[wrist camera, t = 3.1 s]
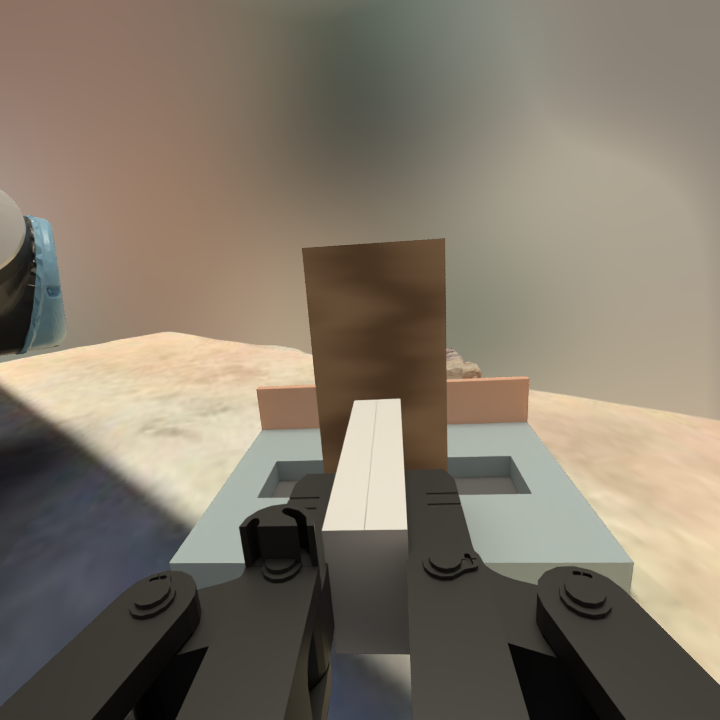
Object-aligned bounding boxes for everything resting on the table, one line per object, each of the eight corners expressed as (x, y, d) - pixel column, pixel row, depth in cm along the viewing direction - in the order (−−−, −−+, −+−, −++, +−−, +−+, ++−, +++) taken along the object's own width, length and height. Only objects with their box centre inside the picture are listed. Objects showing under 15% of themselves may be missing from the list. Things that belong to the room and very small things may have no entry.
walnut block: (332, 562, 22) (301, 248, 18) (345, 496, 28) (323, 246, 24) (449, 562, 22) (444, 238, 17) (436, 495, 27) (431, 239, 23)
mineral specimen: (515, 416, 44) (517, 358, 42) (461, 433, 41) (461, 371, 39) (438, 385, 55) (438, 338, 53) (392, 396, 52) (389, 347, 50)
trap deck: (175, 593, 23) (154, 498, 22) (266, 445, 40) (258, 386, 39) (629, 595, 21) (642, 491, 20) (524, 439, 38) (526, 376, 37)
